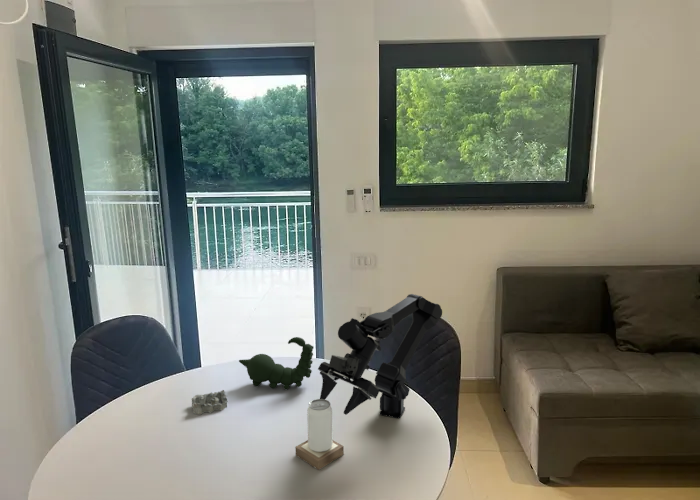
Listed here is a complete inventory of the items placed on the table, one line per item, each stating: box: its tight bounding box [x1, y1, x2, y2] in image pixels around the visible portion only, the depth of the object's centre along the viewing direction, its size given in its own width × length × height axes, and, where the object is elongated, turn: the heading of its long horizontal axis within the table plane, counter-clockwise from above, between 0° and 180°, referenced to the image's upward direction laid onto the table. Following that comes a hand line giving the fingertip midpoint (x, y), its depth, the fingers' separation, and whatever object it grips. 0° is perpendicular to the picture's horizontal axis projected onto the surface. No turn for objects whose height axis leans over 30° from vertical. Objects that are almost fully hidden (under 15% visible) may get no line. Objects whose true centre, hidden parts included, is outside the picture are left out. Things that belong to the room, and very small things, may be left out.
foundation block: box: [294, 439, 345, 471], centre depth 134 cm, size 9×9×3 cm
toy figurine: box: [238, 336, 314, 390], centre depth 172 cm, size 9×19×25 cm
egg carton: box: [190, 389, 229, 415], centre depth 159 cm, size 11×8×4 cm
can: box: [306, 398, 334, 452], centre depth 133 cm, size 6×6×12 cm
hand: (332, 407), depth 136 cm, fingers open, 9 cm apart
